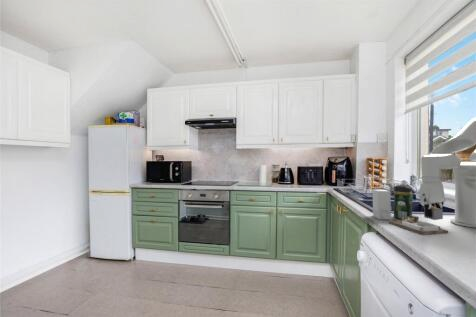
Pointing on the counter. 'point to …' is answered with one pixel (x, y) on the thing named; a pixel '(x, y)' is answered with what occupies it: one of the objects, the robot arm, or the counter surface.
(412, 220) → the board
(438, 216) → the connector block
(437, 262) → the counter surface
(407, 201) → the coffee jar
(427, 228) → the end holder
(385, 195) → the skincare box
